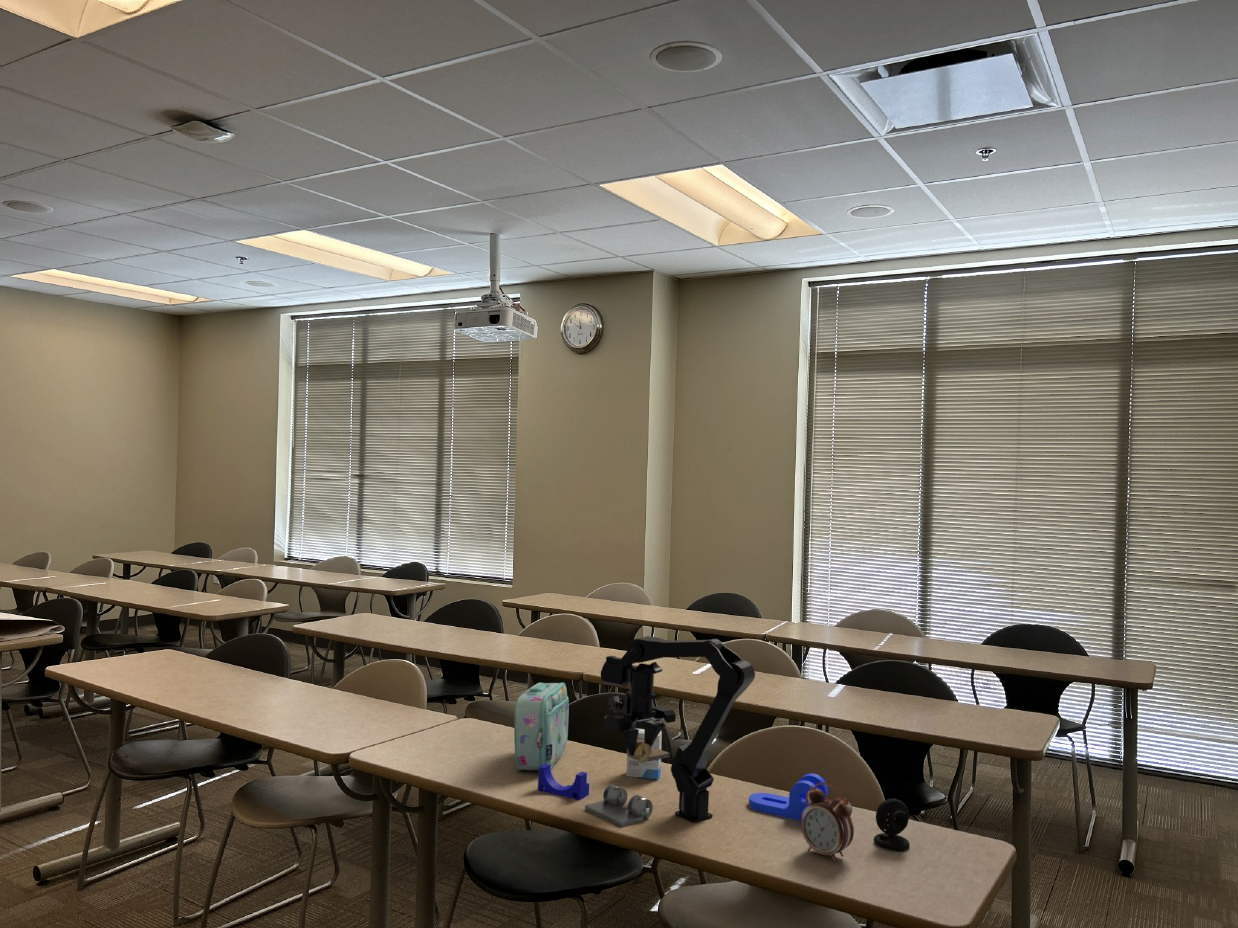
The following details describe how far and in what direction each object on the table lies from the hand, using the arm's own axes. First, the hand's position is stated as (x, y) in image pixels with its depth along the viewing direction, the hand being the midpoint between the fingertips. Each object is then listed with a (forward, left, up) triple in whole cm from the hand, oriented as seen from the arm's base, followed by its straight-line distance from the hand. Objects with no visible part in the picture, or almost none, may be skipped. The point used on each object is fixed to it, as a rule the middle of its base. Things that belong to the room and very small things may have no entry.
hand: (639, 753), depth 212 cm
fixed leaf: (-3, +9, -11) cm, 15 cm away
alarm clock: (-46, -12, -12) cm, 49 cm away
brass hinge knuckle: (0, -3, -2) cm, 3 cm away
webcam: (-51, -29, -12) cm, 60 cm away
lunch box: (+38, +1, -12) cm, 39 cm away
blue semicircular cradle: (+15, +11, -12) cm, 22 cm away
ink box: (+14, -15, -12) cm, 23 cm away
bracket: (-25, -26, -12) cm, 38 cm away
